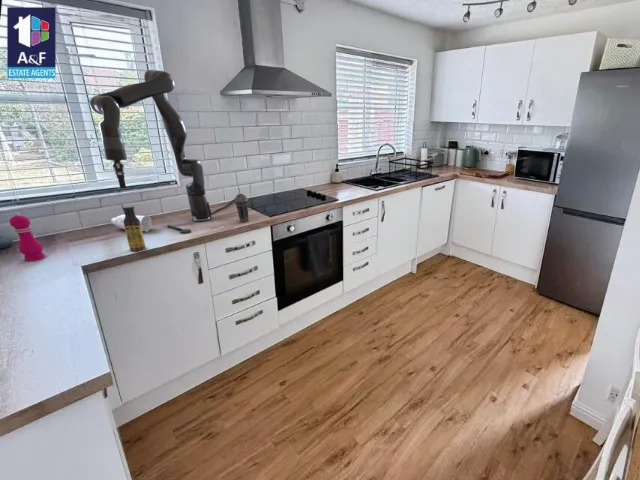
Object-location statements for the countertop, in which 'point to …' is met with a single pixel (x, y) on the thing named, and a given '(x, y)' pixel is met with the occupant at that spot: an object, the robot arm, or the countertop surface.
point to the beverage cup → (242, 207)
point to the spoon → (180, 229)
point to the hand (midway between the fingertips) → (123, 186)
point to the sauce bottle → (133, 229)
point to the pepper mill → (26, 238)
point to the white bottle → (144, 220)
